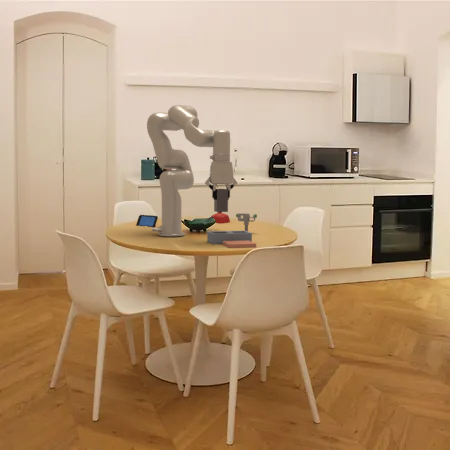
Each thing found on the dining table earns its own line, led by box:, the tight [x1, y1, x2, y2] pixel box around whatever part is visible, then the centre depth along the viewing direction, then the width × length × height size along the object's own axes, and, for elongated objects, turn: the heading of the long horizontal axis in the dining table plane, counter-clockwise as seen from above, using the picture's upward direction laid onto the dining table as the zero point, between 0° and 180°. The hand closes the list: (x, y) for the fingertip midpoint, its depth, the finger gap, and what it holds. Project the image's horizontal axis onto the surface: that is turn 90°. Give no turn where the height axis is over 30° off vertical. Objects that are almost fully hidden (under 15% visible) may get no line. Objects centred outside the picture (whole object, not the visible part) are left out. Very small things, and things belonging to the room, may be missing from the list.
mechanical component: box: [235, 213, 258, 232], centre depth 327 cm, size 3×10×10 cm, turn 79°
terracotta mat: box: [222, 240, 257, 249], centre depth 282 cm, size 12×11×2 cm
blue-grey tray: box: [206, 230, 253, 245], centre depth 294 cm, size 18×10×4 cm, turn 105°
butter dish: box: [210, 212, 231, 224], centre depth 367 cm, size 12×12×8 cm
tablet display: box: [135, 214, 159, 228], centre depth 344 cm, size 12×10×7 cm
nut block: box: [213, 188, 229, 213], centre depth 290 cm, size 5×5×10 cm
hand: (221, 199), depth 290 cm, fingers closed on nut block, 5 cm apart
